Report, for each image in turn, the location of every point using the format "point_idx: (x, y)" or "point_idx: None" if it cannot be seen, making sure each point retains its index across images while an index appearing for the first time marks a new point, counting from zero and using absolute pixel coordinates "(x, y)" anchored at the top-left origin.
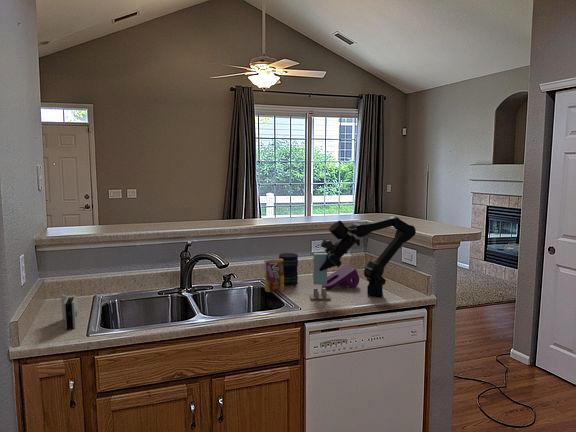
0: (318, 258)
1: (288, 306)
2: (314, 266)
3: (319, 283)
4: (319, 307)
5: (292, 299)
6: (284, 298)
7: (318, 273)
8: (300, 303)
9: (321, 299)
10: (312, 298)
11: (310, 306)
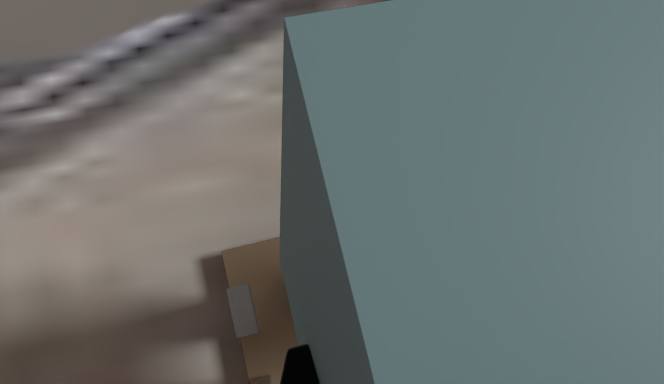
0: (334, 330)
1: (13, 76)
2: (283, 216)
3: (297, 340)
4: (14, 379)
5: (231, 78)
6: (247, 6)
7: (299, 326)
8: (121, 168)
9: (247, 365)
10: (227, 268)
11: (37, 280)
